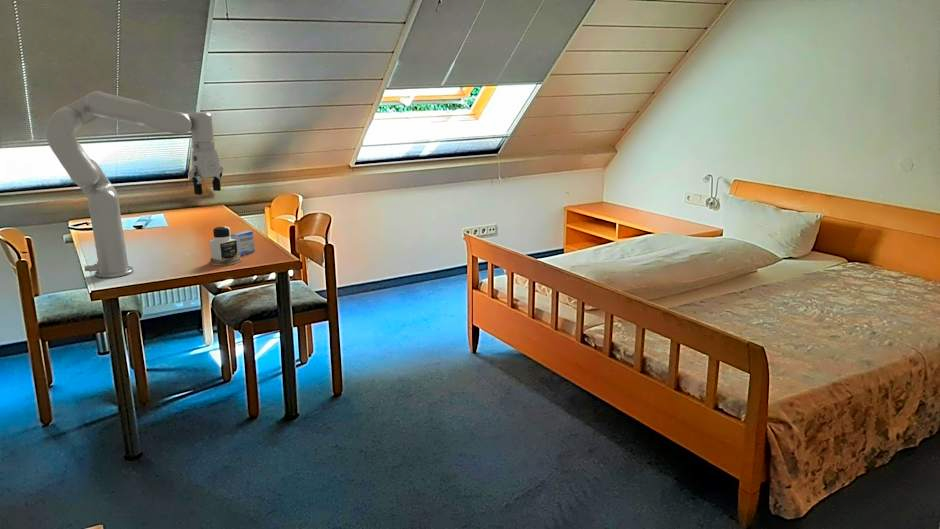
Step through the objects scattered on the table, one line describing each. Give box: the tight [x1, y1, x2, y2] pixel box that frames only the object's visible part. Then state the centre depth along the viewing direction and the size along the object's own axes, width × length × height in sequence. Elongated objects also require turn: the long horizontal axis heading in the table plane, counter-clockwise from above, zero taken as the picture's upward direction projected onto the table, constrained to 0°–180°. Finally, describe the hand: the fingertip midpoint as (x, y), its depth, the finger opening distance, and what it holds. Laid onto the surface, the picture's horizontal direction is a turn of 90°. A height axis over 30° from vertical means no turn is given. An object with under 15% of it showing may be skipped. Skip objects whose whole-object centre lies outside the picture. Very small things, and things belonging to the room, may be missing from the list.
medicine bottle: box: [208, 226, 238, 261], centre depth 265 cm, size 7×7×12 cm
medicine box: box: [230, 230, 256, 257], centre depth 278 cm, size 8×4×9 cm, turn 151°
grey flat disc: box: [209, 255, 243, 267], centre depth 267 cm, size 12×12×2 cm
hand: (207, 192), depth 262 cm, fingers open, 9 cm apart
